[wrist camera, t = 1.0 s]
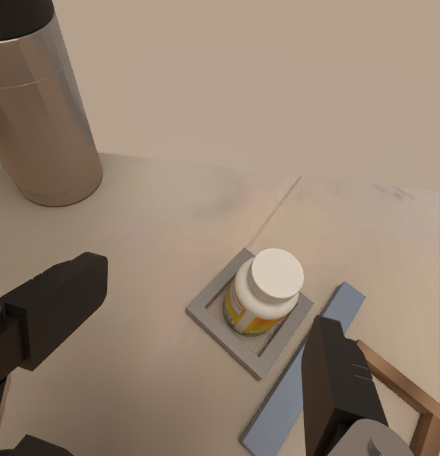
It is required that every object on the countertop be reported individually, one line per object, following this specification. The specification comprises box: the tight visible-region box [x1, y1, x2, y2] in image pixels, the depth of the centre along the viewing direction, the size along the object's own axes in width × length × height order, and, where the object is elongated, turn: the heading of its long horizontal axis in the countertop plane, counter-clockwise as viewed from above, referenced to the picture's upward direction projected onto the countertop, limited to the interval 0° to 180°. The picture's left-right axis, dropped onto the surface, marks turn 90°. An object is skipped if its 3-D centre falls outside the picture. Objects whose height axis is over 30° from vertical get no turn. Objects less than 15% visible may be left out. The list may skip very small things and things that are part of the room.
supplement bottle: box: [223, 248, 304, 336], centre depth 25 cm, size 5×5×10 cm
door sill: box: [239, 282, 365, 456], centre depth 27 cm, size 18×2×2 cm, turn 139°
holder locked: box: [355, 340, 440, 456], centre depth 25 cm, size 9×9×2 cm
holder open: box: [186, 248, 314, 381], centre depth 28 cm, size 9×9×2 cm
